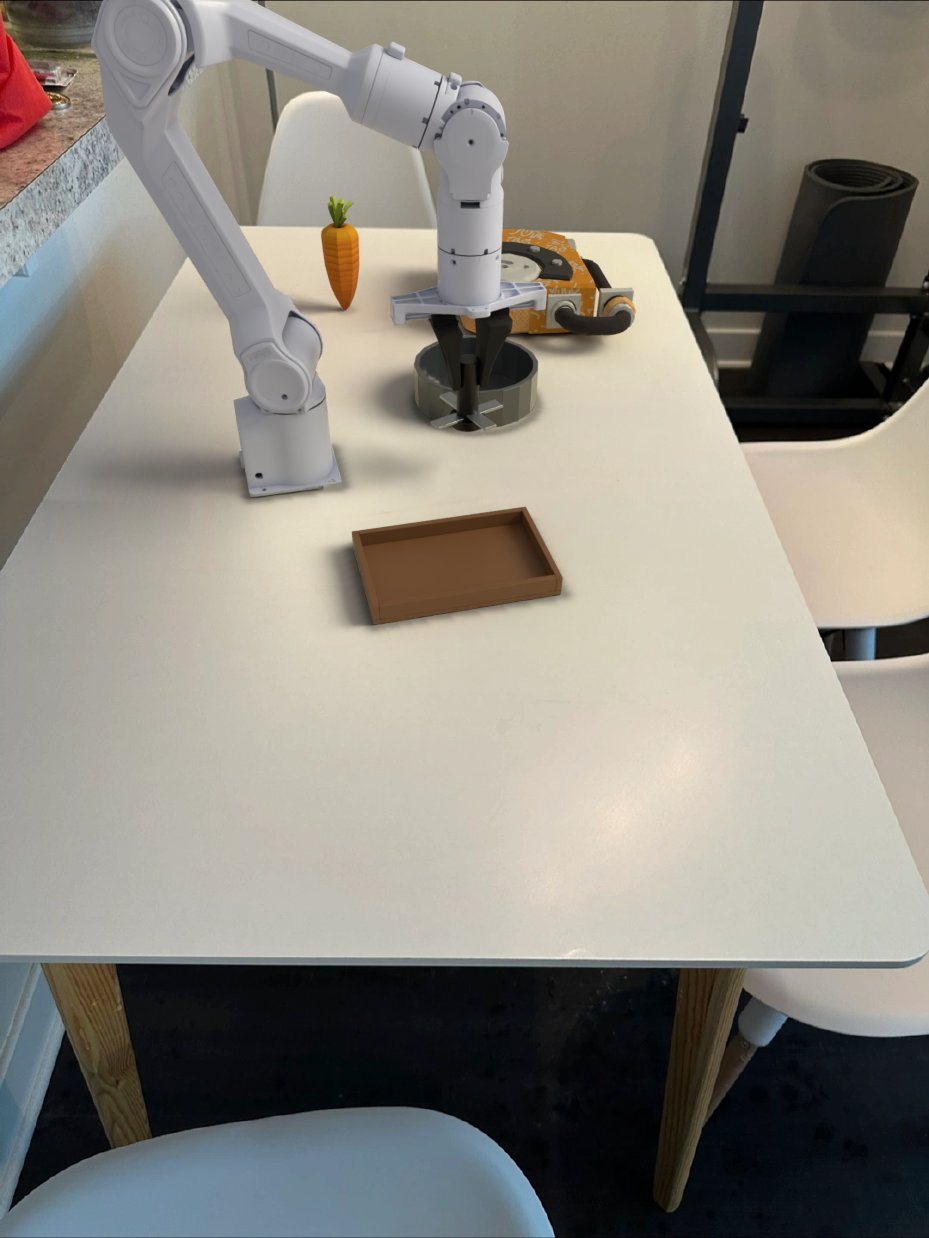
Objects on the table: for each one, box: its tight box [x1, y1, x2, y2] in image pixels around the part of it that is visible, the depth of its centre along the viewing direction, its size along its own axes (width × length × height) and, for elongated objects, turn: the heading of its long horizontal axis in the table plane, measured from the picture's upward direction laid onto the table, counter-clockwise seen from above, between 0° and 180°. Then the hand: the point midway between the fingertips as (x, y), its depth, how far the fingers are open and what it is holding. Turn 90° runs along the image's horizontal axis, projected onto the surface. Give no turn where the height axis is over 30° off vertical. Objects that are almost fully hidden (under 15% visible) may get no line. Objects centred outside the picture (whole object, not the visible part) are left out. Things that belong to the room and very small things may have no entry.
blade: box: [430, 354, 503, 433], centre depth 90 cm, size 8×8×7 cm
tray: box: [351, 506, 564, 625], centre depth 84 cm, size 17×11×2 cm, turn 104°
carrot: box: [320, 195, 360, 311], centre depth 122 cm, size 5×5×15 cm
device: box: [459, 228, 637, 337], centre depth 124 cm, size 23×8×30 cm
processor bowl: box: [413, 334, 539, 430], centre depth 107 cm, size 14×14×5 cm
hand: (467, 384), depth 90 cm, fingers closed on blade, 2 cm apart
